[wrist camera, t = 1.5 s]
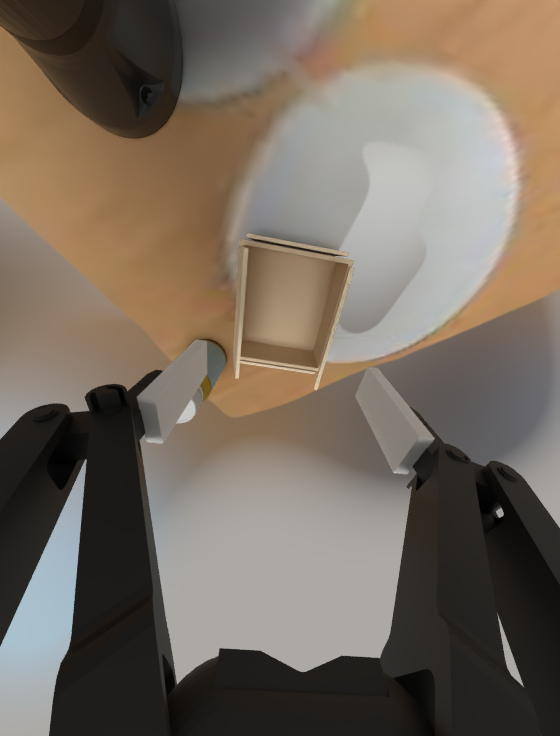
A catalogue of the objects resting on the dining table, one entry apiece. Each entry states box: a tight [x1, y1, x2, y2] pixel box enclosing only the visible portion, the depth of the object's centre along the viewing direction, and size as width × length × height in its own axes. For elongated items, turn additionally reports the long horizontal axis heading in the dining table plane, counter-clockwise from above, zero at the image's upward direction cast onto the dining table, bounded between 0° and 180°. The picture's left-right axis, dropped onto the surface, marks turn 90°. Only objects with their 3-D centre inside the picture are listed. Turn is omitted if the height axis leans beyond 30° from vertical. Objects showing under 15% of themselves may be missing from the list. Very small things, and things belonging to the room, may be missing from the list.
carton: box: [239, 233, 354, 374], centre depth 31 cm, size 17×14×7 cm
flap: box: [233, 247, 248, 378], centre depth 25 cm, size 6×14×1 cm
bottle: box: [176, 340, 226, 423], centre depth 33 cm, size 7×7×15 cm
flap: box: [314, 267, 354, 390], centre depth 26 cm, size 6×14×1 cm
